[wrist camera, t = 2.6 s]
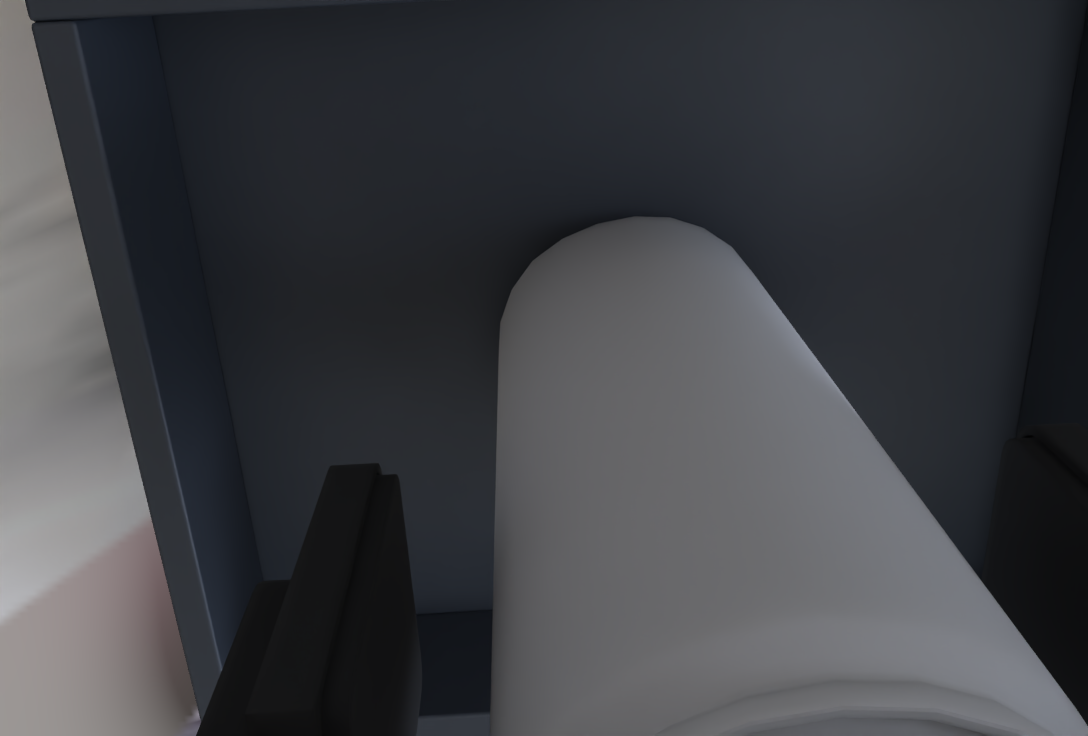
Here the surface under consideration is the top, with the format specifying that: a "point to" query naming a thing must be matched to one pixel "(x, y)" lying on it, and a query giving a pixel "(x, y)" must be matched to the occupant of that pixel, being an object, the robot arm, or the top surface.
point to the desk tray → (547, 244)
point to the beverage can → (718, 524)
